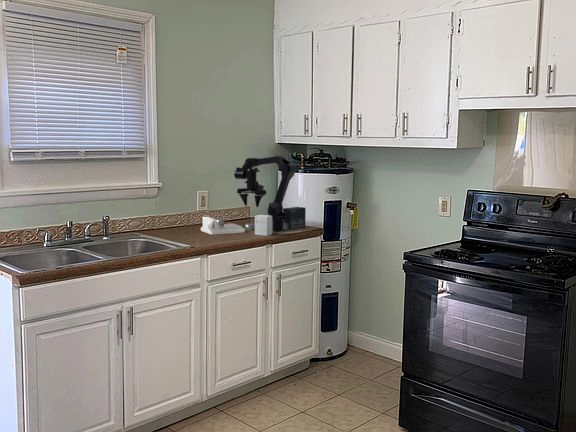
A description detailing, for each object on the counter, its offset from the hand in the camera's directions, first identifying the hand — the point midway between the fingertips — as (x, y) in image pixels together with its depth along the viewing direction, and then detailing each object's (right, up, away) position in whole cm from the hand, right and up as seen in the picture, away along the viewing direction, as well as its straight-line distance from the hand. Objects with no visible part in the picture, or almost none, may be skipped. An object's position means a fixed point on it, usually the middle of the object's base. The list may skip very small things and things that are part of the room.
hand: (251, 206), depth 351 cm
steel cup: (-1, -13, -5) cm, 14 cm away
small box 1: (+8, -16, -22) cm, 28 cm away
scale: (-16, -14, -15) cm, 26 cm away
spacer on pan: (-17, -11, -12) cm, 24 cm away
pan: (-13, -12, -13) cm, 22 cm away
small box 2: (+25, -13, +4) cm, 28 cm away
